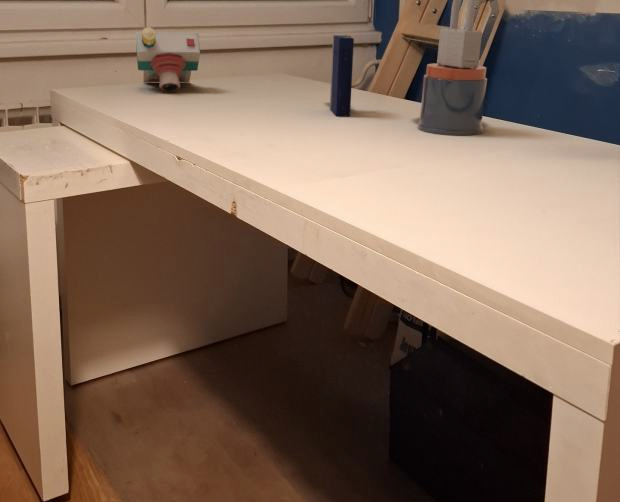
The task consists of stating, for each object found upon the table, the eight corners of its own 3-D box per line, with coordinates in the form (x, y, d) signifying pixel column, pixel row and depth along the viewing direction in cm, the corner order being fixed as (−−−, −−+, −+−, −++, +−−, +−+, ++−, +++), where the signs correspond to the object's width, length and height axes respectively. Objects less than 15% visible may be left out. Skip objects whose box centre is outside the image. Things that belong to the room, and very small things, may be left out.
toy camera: (140, 116, 151) (140, 72, 132) (136, 73, 152) (136, 22, 133) (196, 116, 154) (204, 72, 134) (192, 73, 154) (199, 23, 135)
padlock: (433, 63, 112) (440, -11, 108) (456, 63, 114) (464, -10, 109) (457, 69, 107) (465, -10, 102) (481, 68, 108) (491, -9, 103)
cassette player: (350, 116, 122) (354, 36, 117) (336, 116, 122) (339, 36, 116) (343, 109, 129) (346, 33, 123) (329, 109, 128) (332, 32, 123)
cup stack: (469, 123, 119) (476, 63, 115) (492, 135, 111) (501, 70, 107) (409, 123, 118) (414, 62, 114) (428, 135, 109) (434, 69, 105)
